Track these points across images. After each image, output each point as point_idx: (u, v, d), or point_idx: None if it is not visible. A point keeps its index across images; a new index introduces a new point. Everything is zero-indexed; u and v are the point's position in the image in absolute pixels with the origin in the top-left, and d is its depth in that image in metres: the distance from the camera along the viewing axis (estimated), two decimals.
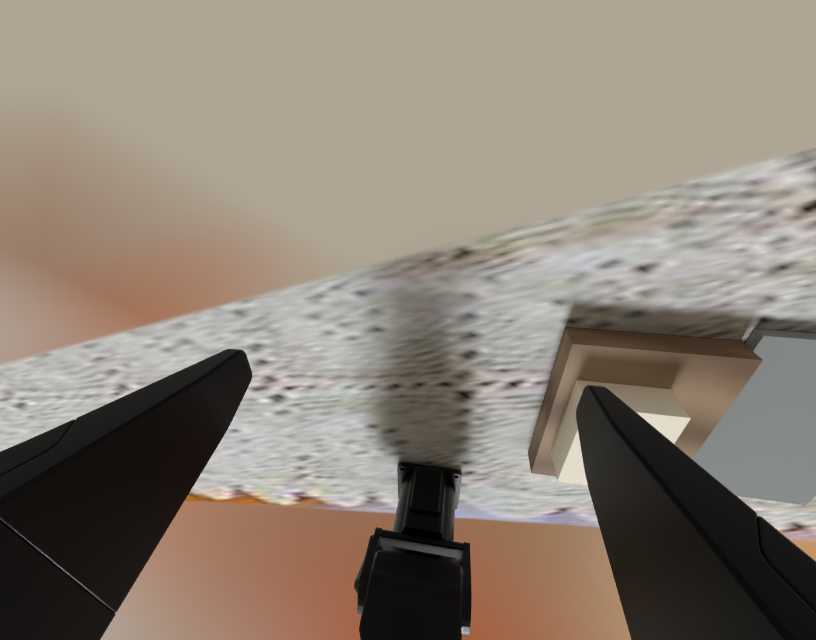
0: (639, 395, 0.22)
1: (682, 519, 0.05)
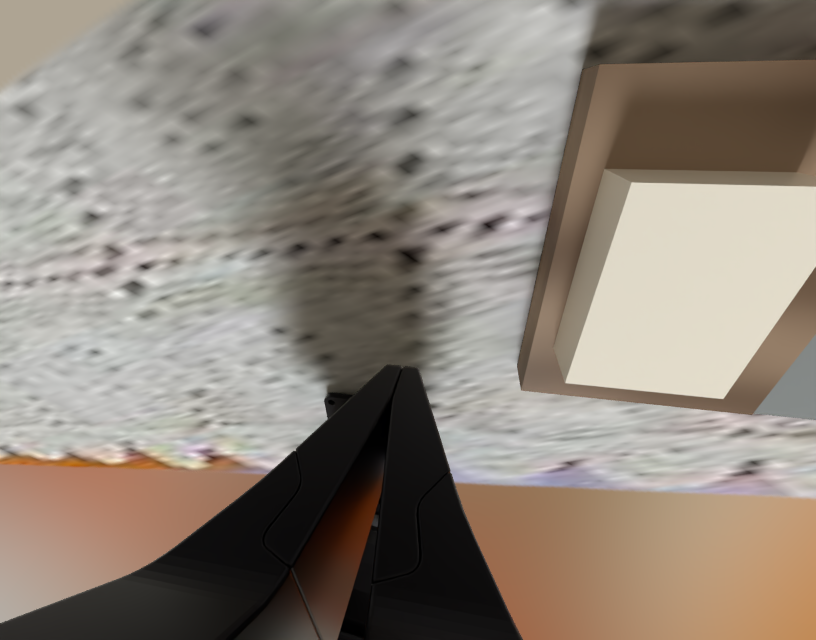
0: (737, 175, 0.11)
1: None
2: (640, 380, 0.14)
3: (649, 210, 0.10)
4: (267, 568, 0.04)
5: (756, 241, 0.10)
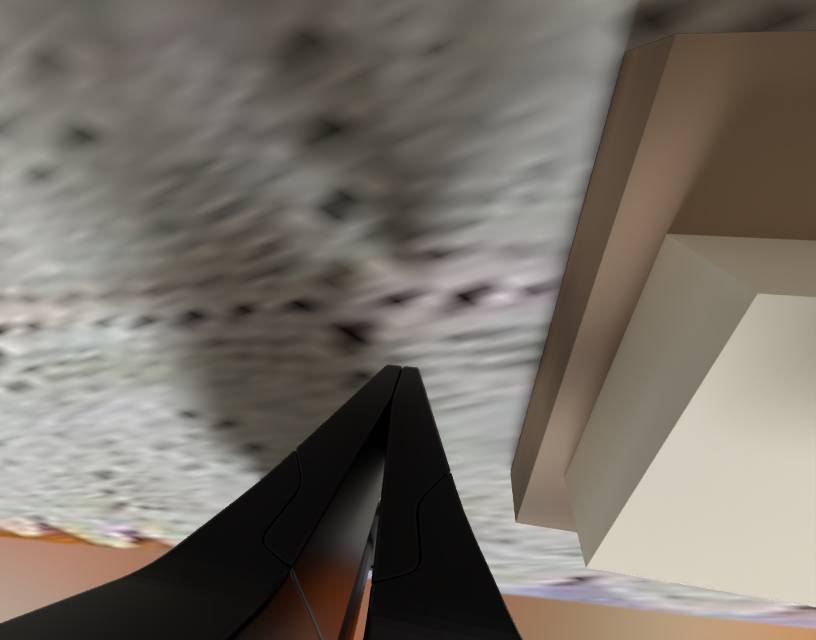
0: None
1: None
2: (714, 578, 0.08)
3: (786, 346, 0.05)
4: (267, 568, 0.04)
5: None
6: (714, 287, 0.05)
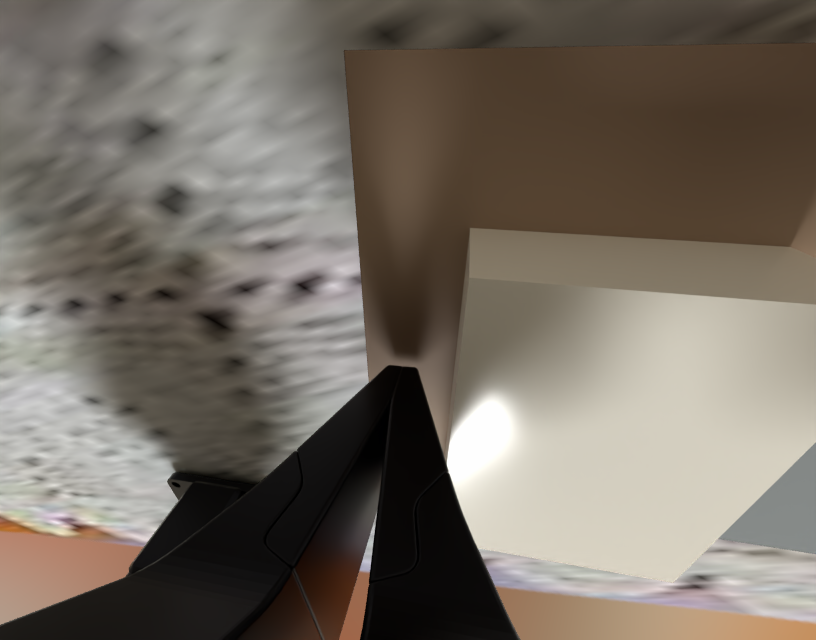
0: (683, 256, 0.06)
1: None
2: (545, 549, 0.09)
3: (510, 326, 0.05)
4: (268, 568, 0.04)
5: (713, 388, 0.05)
6: (467, 274, 0.06)
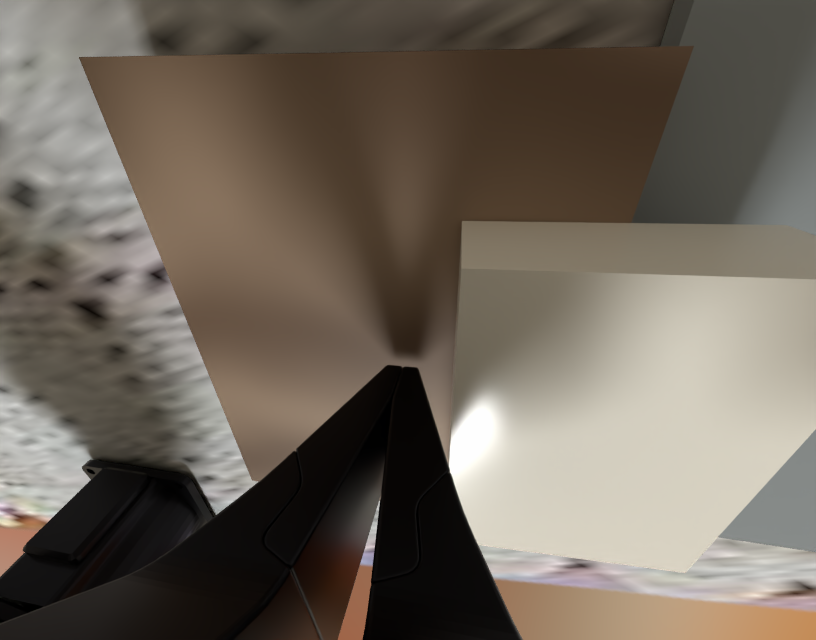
0: (678, 238, 0.06)
1: None
2: (554, 544, 0.09)
3: (506, 316, 0.05)
4: (267, 568, 0.04)
5: (716, 370, 0.05)
6: (460, 266, 0.06)
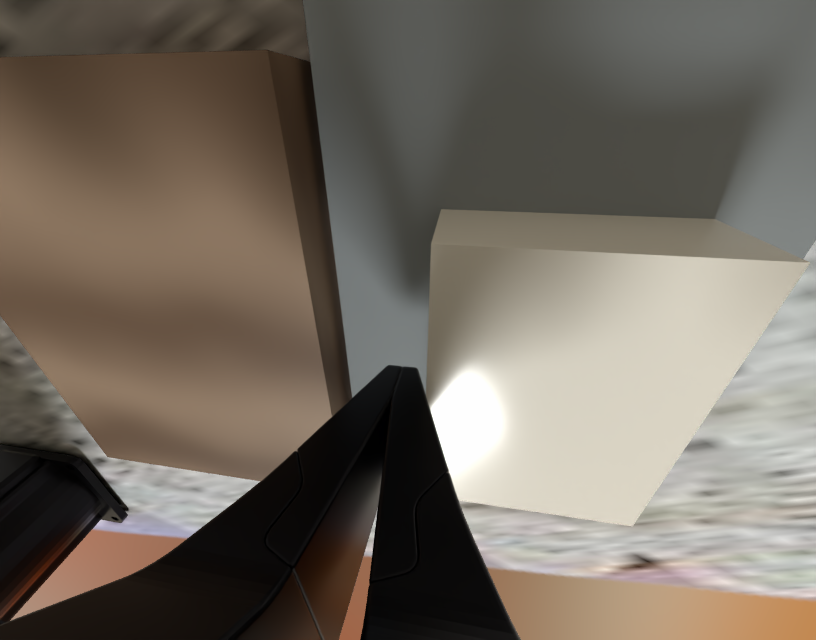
0: (617, 226, 0.07)
1: None
2: (518, 498, 0.10)
3: (468, 285, 0.06)
4: (267, 568, 0.04)
5: (640, 334, 0.06)
6: None
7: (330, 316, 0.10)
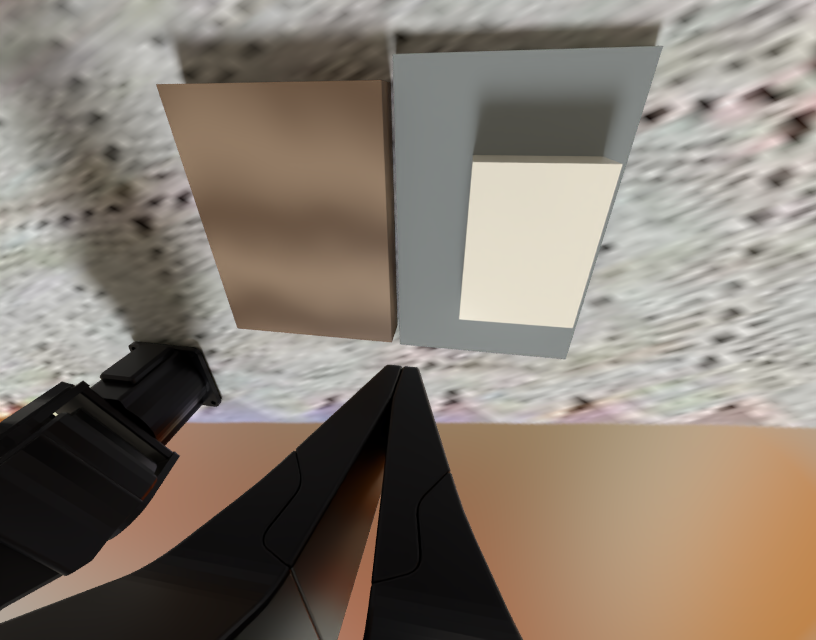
0: (555, 158, 0.15)
1: None
2: (511, 314, 0.18)
3: (488, 181, 0.15)
4: (266, 568, 0.04)
5: (562, 203, 0.15)
6: None
7: (390, 218, 0.19)
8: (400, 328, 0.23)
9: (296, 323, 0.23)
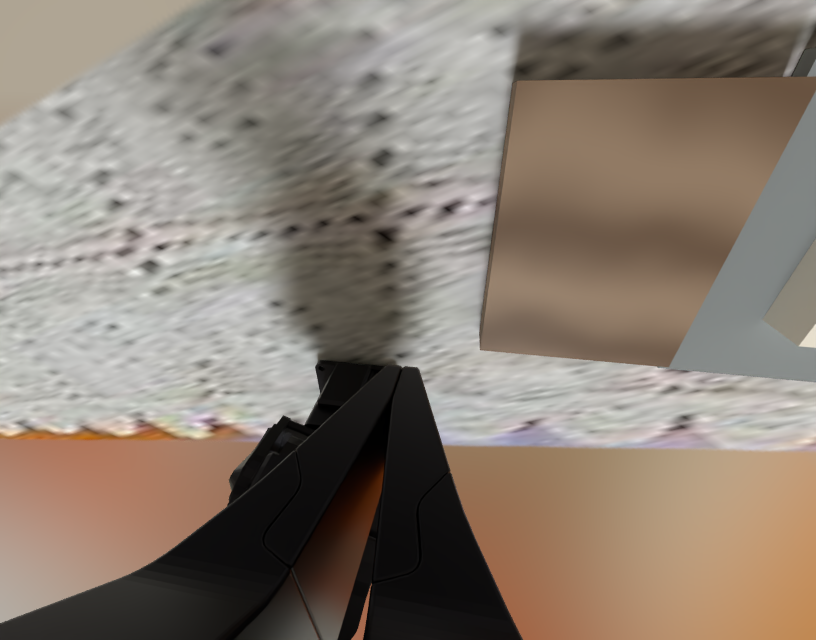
0: None
1: None
2: None
3: None
4: (266, 568, 0.04)
5: None
6: None
7: None
8: None
9: (557, 346, 0.20)
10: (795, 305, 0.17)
